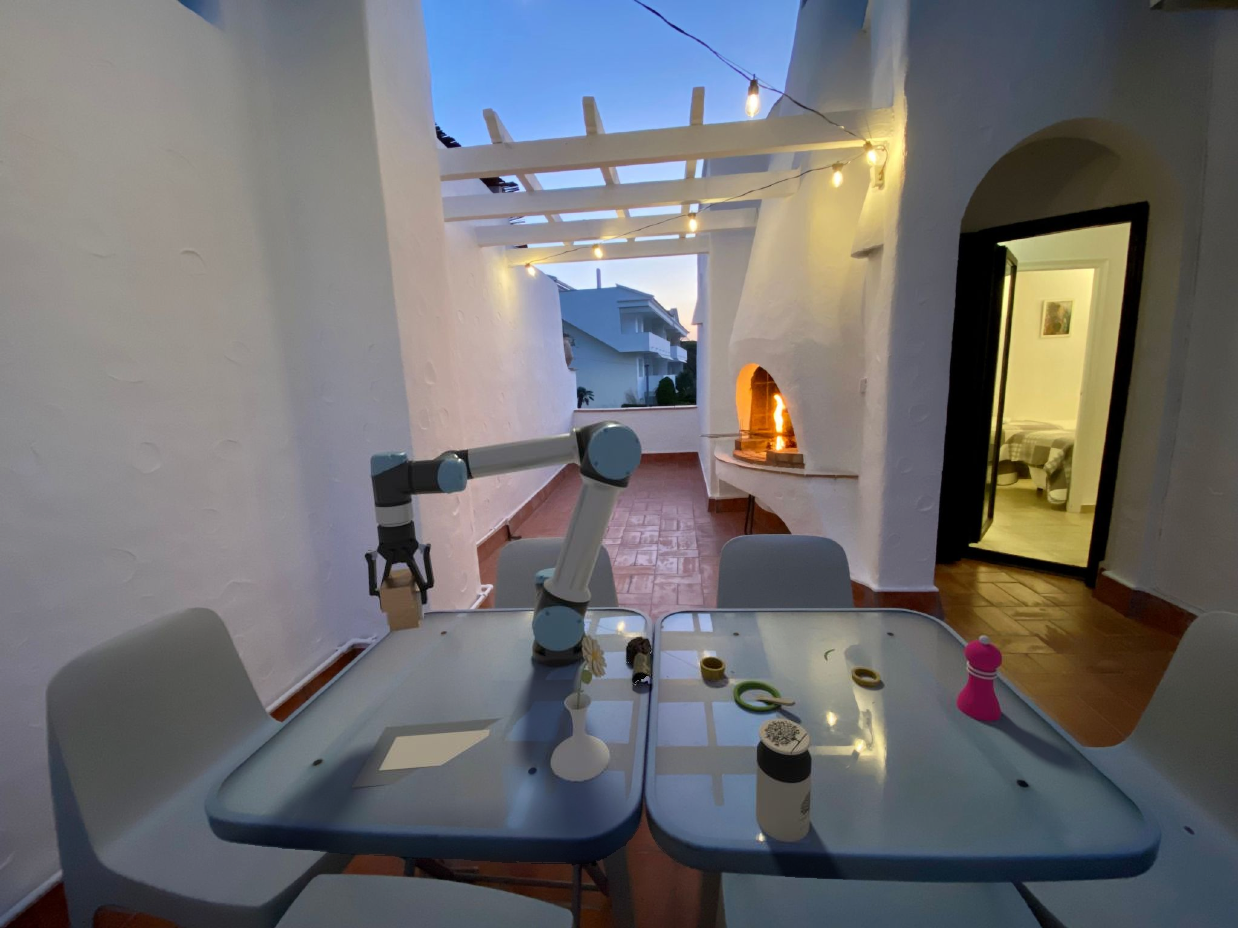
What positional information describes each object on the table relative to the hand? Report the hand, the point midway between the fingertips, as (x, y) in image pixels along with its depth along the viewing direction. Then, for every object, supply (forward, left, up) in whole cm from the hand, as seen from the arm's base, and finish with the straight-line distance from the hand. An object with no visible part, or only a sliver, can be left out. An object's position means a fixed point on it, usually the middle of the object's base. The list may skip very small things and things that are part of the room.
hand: (406, 619), depth 112 cm
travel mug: (-71, +43, -20) cm, 85 cm away
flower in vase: (-40, +25, -20) cm, 51 cm away
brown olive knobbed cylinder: (-53, +1, -23) cm, 58 cm away
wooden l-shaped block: (0, 0, -1) cm, 1 cm away
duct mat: (-11, +19, -20) cm, 29 cm away
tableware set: (-88, +7, -21) cm, 91 cm away
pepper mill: (-120, +24, -20) cm, 124 cm away
